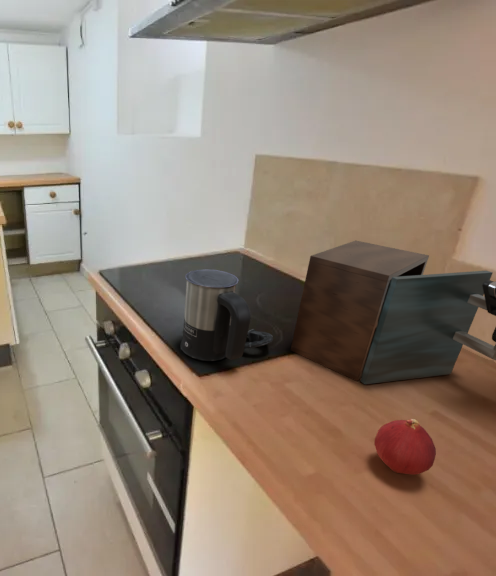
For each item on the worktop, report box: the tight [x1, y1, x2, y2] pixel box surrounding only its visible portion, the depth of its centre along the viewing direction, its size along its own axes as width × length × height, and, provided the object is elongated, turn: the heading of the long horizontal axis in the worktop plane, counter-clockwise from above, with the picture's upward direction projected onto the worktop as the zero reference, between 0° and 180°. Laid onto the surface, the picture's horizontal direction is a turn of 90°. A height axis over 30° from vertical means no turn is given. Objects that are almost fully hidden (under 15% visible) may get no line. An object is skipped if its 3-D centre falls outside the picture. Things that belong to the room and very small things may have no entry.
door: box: [359, 270, 496, 385], centre depth 58 cm, size 8×17×19 cm, turn 100°
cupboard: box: [290, 240, 430, 382], centre depth 69 cm, size 12×17×19 cm
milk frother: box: [179, 268, 274, 362], centre depth 71 cm, size 14×16×15 cm
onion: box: [373, 418, 437, 475], centre depth 45 cm, size 6×6×8 cm
